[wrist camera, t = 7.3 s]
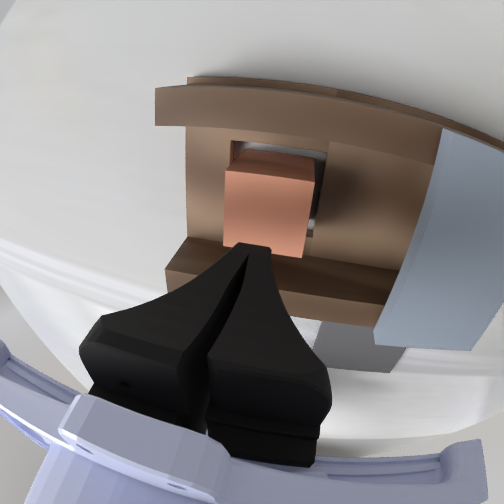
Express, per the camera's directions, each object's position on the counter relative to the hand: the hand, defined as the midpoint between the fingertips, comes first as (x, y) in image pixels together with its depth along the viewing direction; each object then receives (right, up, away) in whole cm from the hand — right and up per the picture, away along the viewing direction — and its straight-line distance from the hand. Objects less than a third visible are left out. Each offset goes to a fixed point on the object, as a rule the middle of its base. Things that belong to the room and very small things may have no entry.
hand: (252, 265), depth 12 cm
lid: (+12, 0, +2) cm, 12 cm away
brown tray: (+7, +4, +7) cm, 11 cm away
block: (+2, +5, +8) cm, 10 cm away
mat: (+11, -7, +14) cm, 19 cm away
